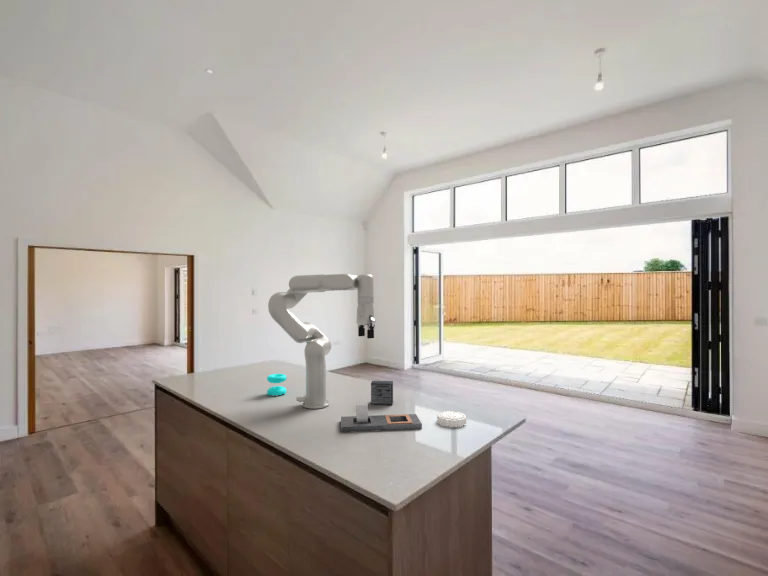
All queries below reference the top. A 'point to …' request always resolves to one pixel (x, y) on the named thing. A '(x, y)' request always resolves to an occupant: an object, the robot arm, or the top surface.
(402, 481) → the top surface
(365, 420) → the light grey block
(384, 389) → the small box
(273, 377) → the donuts
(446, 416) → the white bumpy disc
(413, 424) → the rail
